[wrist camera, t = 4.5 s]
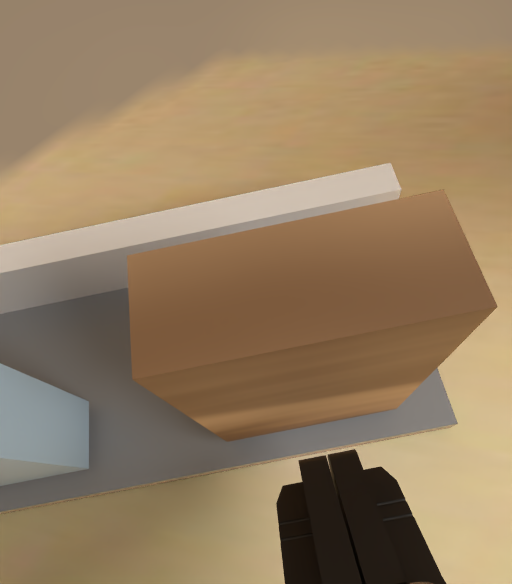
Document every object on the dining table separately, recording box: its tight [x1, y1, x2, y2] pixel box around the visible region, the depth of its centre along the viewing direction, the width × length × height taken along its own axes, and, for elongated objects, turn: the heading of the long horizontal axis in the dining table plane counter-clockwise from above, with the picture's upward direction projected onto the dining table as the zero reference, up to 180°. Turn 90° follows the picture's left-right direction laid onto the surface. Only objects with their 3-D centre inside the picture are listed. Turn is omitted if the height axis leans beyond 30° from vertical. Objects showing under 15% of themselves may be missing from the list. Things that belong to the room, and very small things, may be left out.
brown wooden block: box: [127, 190, 497, 442], centre depth 12 cm, size 2×6×9 cm, turn 100°
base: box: [0, 163, 458, 514], centre depth 16 cm, size 9×21×4 cm, turn 100°
